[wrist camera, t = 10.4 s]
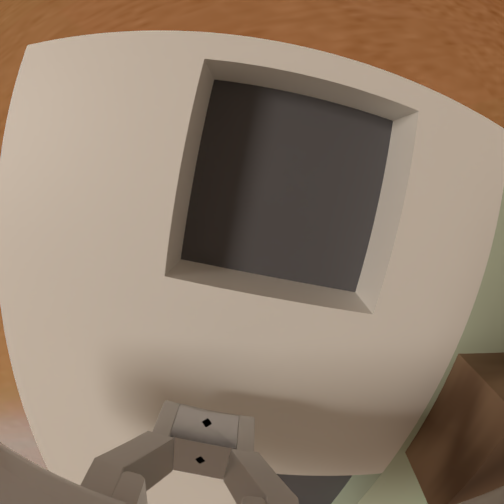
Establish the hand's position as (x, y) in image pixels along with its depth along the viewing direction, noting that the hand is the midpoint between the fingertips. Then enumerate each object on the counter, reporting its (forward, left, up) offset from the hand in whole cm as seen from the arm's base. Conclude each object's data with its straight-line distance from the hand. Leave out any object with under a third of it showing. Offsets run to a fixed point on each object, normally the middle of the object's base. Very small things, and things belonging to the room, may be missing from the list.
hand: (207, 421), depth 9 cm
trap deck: (0, +3, -4) cm, 5 cm away
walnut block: (0, +13, -2) cm, 13 cm away
